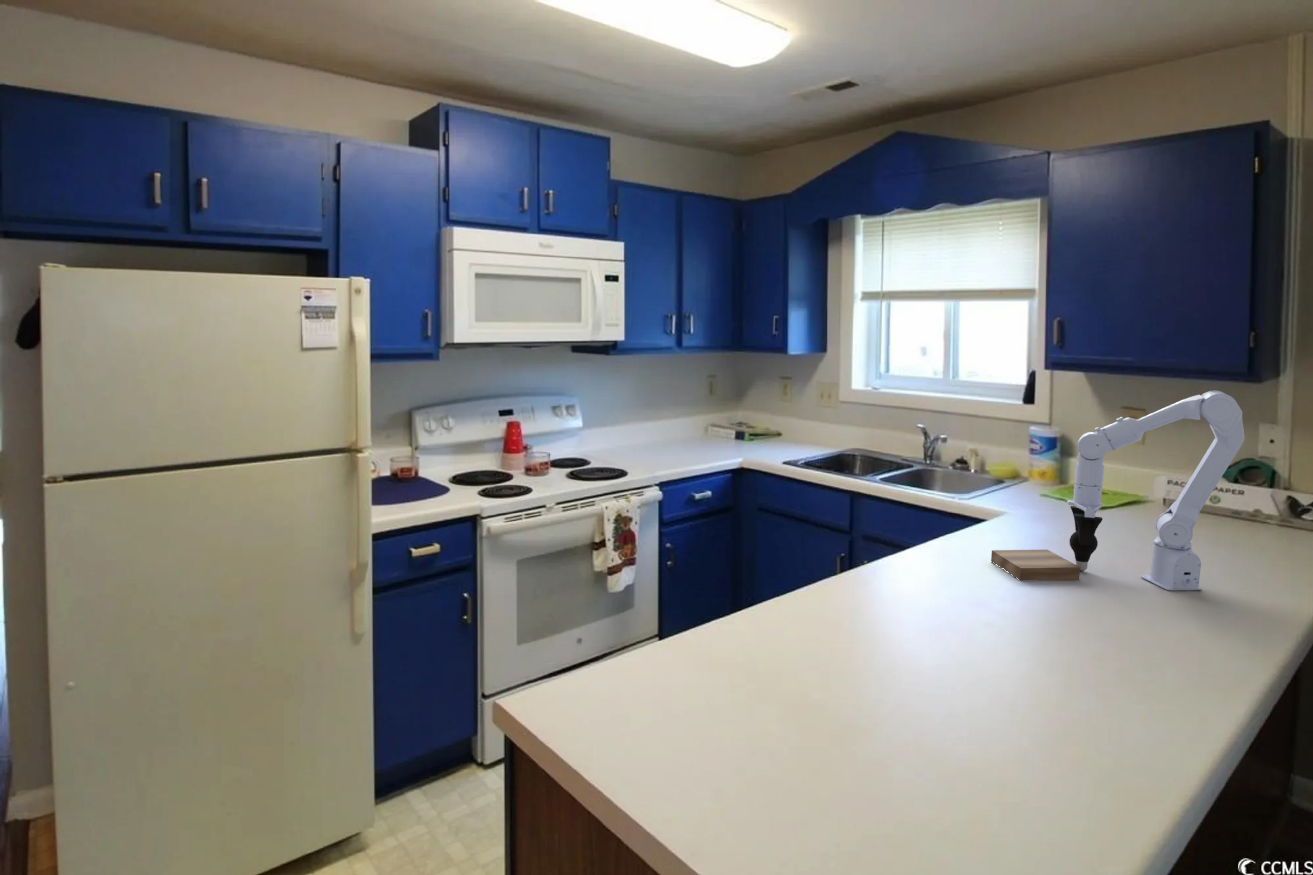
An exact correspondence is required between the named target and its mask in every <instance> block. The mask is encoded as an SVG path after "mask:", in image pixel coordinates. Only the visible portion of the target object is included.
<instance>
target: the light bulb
mask: <svg viewBox="0 0 1313 875" xmlns="http://www.w3.org/2000/svg"><path fill="white" fill-rule="evenodd" d="M1068 541H1069V546H1070V549H1071V550H1072V551H1073V554H1074V559H1075V565H1077V566H1079V567H1080V573H1081V572H1084V571H1086V570H1087V569H1088V563H1089V560H1090V558H1091V555H1093V553H1094V552H1095V551H1096V550H1097V548H1098V545H1099V544H1098V543H1099V542H1098V541H1099V540H1098V539H1097V537H1096V535H1095V534H1094V537H1093V540H1092V543H1091V545H1090V546H1088V545H1081V544H1080V541H1079V531H1076V530H1075V531H1074V532H1073V533H1072V534H1071V536H1070V537H1069V540H1068Z"/></svg>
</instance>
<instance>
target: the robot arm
mask: <svg viewBox="0 0 1313 875" xmlns="http://www.w3.org/2000/svg"><path fill="white" fill-rule="evenodd" d="M1201 416H1202V417H1203V419H1204V420H1206V421H1207V423H1208V424H1209V427H1210V429H1211V432H1212V433H1213V435H1214V439H1213V440H1212V442H1211V444H1210V446H1209V447H1208V448H1207V451H1206V452H1205V453H1204V455H1203V457H1202V459H1201V460H1200V462H1199V463H1198V465H1197V466H1196V469H1195V470H1194V472H1193V473H1192V475H1191V476H1190V478H1189V479H1188V481H1187V483H1186V484H1185V485H1184V487H1183V489H1182V491H1181V493H1180V494H1179V496H1178V498H1177V499H1176V500H1175V501H1174V502H1173V503H1172V504H1171V505H1170V507H1168V509H1167V510H1166V511H1165V512H1163V513H1161V514H1160V515H1159V516H1158V517H1157V518H1156V520H1155V529H1156V530H1157V532H1158V535H1157V537H1156V538H1154V539H1153V541H1152V550H1151V551H1152V552H1151V562H1150V574H1140V577H1141V578H1142V579H1145V580H1146V581H1148V582H1150V583H1152V584H1154V585H1156V586H1159V587H1160V588H1163V589H1165V590H1167V591H1202V590H1203V587H1201V586H1200V577H1201V568H1202V561H1201V558H1200V557H1199V555H1197V554H1196V553H1194V551H1193V549H1192V545H1193V544H1192V543H1191V541H1192V540H1193V536H1194V531H1193V530H1194V527H1195V525H1196V524H1197V521H1198V519H1199V515H1200V512H1201V511H1202V509H1203V507H1204V506H1205V505H1206V502H1207V501H1208V499H1209V498H1210V496H1211V494H1212V493H1213V491H1214V490H1215V488H1216V487H1217V485H1218V483H1219V482H1220V480H1221V479H1222V477H1223V475H1224V474H1225V472H1226V471H1227V469H1228V468H1229V466H1230V465H1231V463H1232V461H1233V460H1234V458H1235V457H1236V455H1237V453H1238V452H1239V450H1240V449H1241V447H1242V446H1243V444H1244V442H1245V440H1246V439H1245V438H1246V437H1245V429H1244V422H1243V410H1242V409H1241V407H1240V405H1239V404H1238V403H1237V401H1236V399H1235V398H1233V397H1232V396H1231V395H1229V394H1226V393H1225V392H1223V391H1220V390H1209V391H1206V392H1204V393H1202V394H1201V395H1200V394H1196V395H1193V396H1189V397H1187V398H1184V399H1181V400H1179V401H1177V402H1175V403H1172V404H1170V405H1168V406H1165V407H1163V408H1160V409H1158V410H1156V411H1155V412H1152V413H1149V414H1148V415H1144V416H1142V417H1140V418H1138V419H1137V418H1132V417H1125V418H1124V417H1123V416H1120V417H1118V418H1116V421H1115V422H1113V423H1111V424H1108V425H1105V426H1103V427H1099V426H1097V427H1095V428H1094V431H1095V432H1093V431H1089V432H1085V433H1083V434H1082V435H1081V436H1080V437H1079V439H1078V440H1077V443H1076V445H1077V450H1078V455H1077V457H1076V458H1077V459H1076V460H1077V462H1076V463H1075V473H1074V485H1073V499H1072V500H1069V499H1068V500H1067V501H1066V503H1067V505H1070V509H1071V512H1072V515H1073V519H1074V528H1075V532H1076V531H1079V541H1080V544H1081V545H1088V546H1090V545H1091V543H1092V540H1093V537H1094V535H1095V534H1096V531H1097V529H1098V527H1099V526H1100V525H1101V523H1102V521H1103V517H1102V516H1096V512H1097V511H1099V509H1102V504H1103V503H1102V494H1103V483H1104V482H1103V481H1104V470H1105V465H1104V456H1105V455H1106V454H1107V452H1114V451H1116V450H1118V449H1121V448H1124V447H1127V446H1129V445H1132V444H1133V443H1137V442H1139V441H1141V440H1142V438H1143V435H1144V433H1145V432H1149V431H1151V430H1152V431H1153V430H1155V429H1157V428H1160V427H1162V426H1165V425H1168V424H1171V423H1174V422H1177V421H1180V420H1183V419H1185V420H1186V419H1187V420H1199V421H1200V420H1201Z"/></svg>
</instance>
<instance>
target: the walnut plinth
mask: <svg viewBox="0 0 1313 875" xmlns="http://www.w3.org/2000/svg"><path fill="white" fill-rule="evenodd" d="M991 561H992V562H994V563H995V564H997V565H998V566H1000V567H1001V568H1004V569H1005V570H1006V571H1008V572H1009V573H1010V574H1012V575H1013V576H1015V577H1017V578H1018V579H1019V580H1037V581H1079V580H1080V576H1081V575H1080V573H1081V571H1080V567H1079V566H1077V565H1076V563H1073V562H1071V561H1069V560H1068V559H1067V558H1064V557H1062V556H1061V555H1058V554H1056V553H1054V552H1053V551H1050V550H1049V549H1001V550H1000V549H995V550H993V549H992V550H991V557H990V562H991ZM992 562H991V563H992ZM995 564H994V565H995ZM998 566H997V567H998ZM1001 568H1000V569H1001ZM1009 573H1008V574H1009ZM1010 574H1009V575H1010ZM1012 575H1011V576H1012ZM1013 576H1012V577H1013ZM1015 577H1014V578H1015ZM1018 579H1017V580H1018ZM1019 580H1018V581H1019Z"/></svg>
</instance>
